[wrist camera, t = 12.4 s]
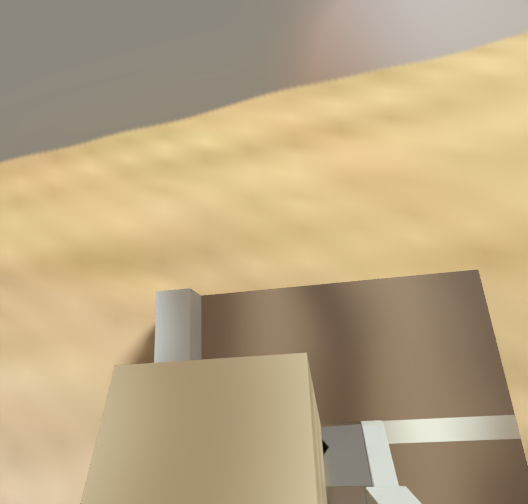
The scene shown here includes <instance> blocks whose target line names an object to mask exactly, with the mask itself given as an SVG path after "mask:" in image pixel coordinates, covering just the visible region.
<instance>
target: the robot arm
mask: <svg viewBox="0 0 528 504" xmlns="http://www.w3.org/2000/svg"><path fill="white" fill-rule="evenodd" d="M321 432H322V443H323V451H324V455H323V461H324V475H325V488H326V496H327V504H422V503H421V502H420V501H419V500H418V499H417V498H416V497H415V496H414V495H413V494H412V493H411V491H410V490H409V489H408V488H407V487H406V486H399V484H398V480H397V476H396V472H395V468H394V464H393V460H392V456H391V452H390V448H389V444H388V440H387V436H386V432H385V428H384V424H383V422H382V421H381V420H376V421H361V422H360V421H347V422H330V423H321Z"/></svg>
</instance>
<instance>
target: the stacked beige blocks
mask: <svg viewBox="0 0 528 504" xmlns="http://www.w3.org/2000/svg"><path fill="white" fill-rule="evenodd" d="M323 455H324V451H323V443H322V432H321V424H320V419H319V414H318V409H317V403H316V398H315V393H314V388H313V383H312V378H311V373H310V367H309V362H308V357H307V353H295V354H279V355H264V356H249V357H234V358H219V359H203V360H188V361H173V362H158V363H142V364H127V365H115V368H114V372H113V376H112V380H111V384H110V388H109V392H108V396H107V400H106V404H105V408H104V412H103V416H102V420H101V424H100V428H99V432H98V436H97V440H96V444H95V448H94V452H93V456H92V460H91V464H90V468H89V472H88V476H87V480H86V483H85V487H84V491H83V495H82V499H81V503H80V504H327V496H326V488H325V475H324V461H323Z"/></svg>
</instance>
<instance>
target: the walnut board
mask: <svg viewBox="0 0 528 504" xmlns="http://www.w3.org/2000/svg"><path fill="white" fill-rule="evenodd" d="M295 353H307V357H308V362H309V367H310V373H311V378H312V383H313V388H314V393H315V398H316V403H317V409H318V414H319V419H320V424H321V423H330V422H347V421H360V422H361V421H376V420H381V421H382V422H383V424H384V428H385V432H386V436H387V440H388V444H389V448H390V452H391V456H392V460H393V464H394V468H395V472H396V476H397V480H398V484H399V486H406V487H407V488H408V489H409V490H410V491H411V493H412V494H413V495H414V496H415V497H416V498H417V499H418V500H419V501H420V502H421V503H422V504H528V466H527V462H526V458H525V454H524V450H523V446H522V442H521V437H520V433H519V430H518V426H517V422H516V418H515V414H514V410H513V406H512V402H511V398H510V394H509V390H508V386H507V382H506V378H505V374H504V371H503V367H502V363H501V359H500V355H499V351H498V347H497V343H496V339H495V335H494V331H493V327H492V323H491V319H490V315H489V311H488V307H487V303H486V299H485V295H484V291H483V287H482V283H481V279H480V275H479V271H478V270H469V271H459V272H448V273H437V274H427V275H416V276H406V277H395V278H385V279H374V280H363V281H353V282H342V283H332V284H321V285H310V286H300V287H289V288H279V289H268V290H257V291H247V292H236V293H226V294H215V295H204V296H201V295H199V294H198V293H196V292H195V291H193V290H192V289H190V288H189V289H179V290H169V291H158V292H156V320H155V348H154V363H158V362H173V361H188V360H203V359H219V358H234V357H249V356H264V355H279V354H295Z"/></svg>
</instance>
